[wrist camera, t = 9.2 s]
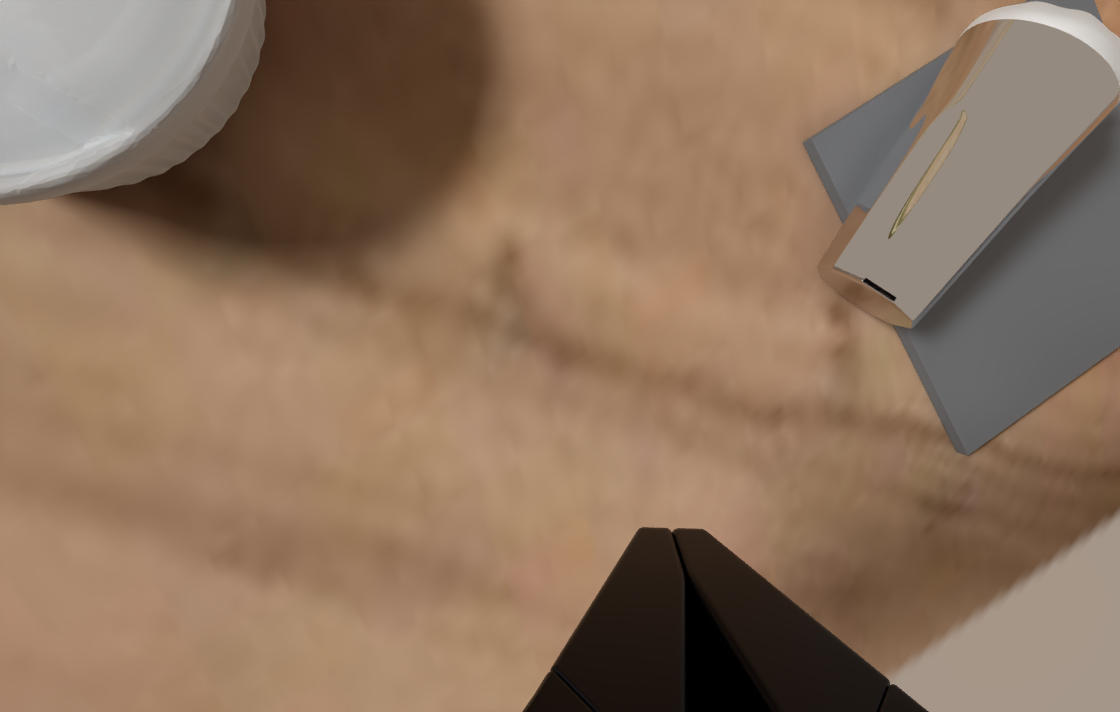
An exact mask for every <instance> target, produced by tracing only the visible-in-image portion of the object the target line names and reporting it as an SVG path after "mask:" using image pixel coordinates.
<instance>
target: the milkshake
mask: <svg viewBox="0 0 1120 712" xmlns="http://www.w3.org/2000/svg"><path fill="white" fill-rule="evenodd" d="M1119 102H1120V38H1119V37H1118V36H1117V35H1115V34H1114V33H1112V32H1111V31H1110V30H1109V29H1108V28H1107V27H1106V26H1105V25H1104V24H1103V23H1102V22H1100V21H1099V20H1098V19H1097V18H1096V17H1094V16H1093V15H1092V14H1090V13H1088V12H1085V11H1081V10H1075V9H1067V8H1062V7H1059V6H1056V5H1052V4H1049V3H1045V2H1039V1H1034V2H1026V3H1022V4H1017V5H1011V6H1005V7H1001V8H997V9H994V10H991V11H989V12H987V13H985V14H983V15H981V16H980V17H978V18H977V19H976V20H974V21H973V22H972V23H971V24H970V25H969V26H968V27H967V28H966V30H965V31H964V32H963V33H962V35H961V36H960V38H959V40H958V41H957V43H956V45H955V46H954V48H953V50H952V51H951V53H950V55H949V56H948V58H947V60H946V61H945V63H944V65H943V66H942V68H941V70H940V71H939V73H938V75H937V76H936V78H935V80H934V81H933V83H932V85H931V86H930V88H929V90H928V91H927V93H926V95H925V96H924V98H923V100H922V101H921V103H920V105H919V106H918V108H917V110H916V111H915V113H914V114H913V116H912V118H911V119H910V121H909V123H908V124H907V126H906V127H905V129H904V130H903V132H902V133H901V135H900V136H899V138H898V140H897V141H896V143H895V144H894V146H893V147H892V149H891V150H890V152H889V154H888V155H887V157H886V158H885V160H884V161H883V163H882V165H881V166H880V168H879V169H878V171H877V172H876V174H875V176H874V177H873V179H872V180H871V182H870V183H869V185H868V186H867V188H866V190H865V191H864V193H863V194H862V196H861V197H860V199H859V201H858V202H857V204H856V205H855V207H854V208H853V210H852V212H851V213H850V215H849V216H848V218H847V219H846V221H845V223H844V224H843V226H842V227H841V229H840V230H839V232H838V233H837V235H836V237H835V238H834V240H833V241H832V243H831V244H830V246H829V248H828V249H827V251H826V252H825V254H824V255H823V257H822V259H821V260H820V262H819V264H818V266H817V268H818V271H819V274H820V277H821V279H823V280H824V281H825V282H826V283H827V284H828V285H829V286H830V287H831V288H833V289H834V290H835V291H836V292H837V293H838V294H839V295H841V296H842V297H844V298H845V299H847V300H849V301H850V302H852V303H853V304H855V305H856V306H858V307H859V308H861V309H862V310H864V311H865V312H867V313H869V314H872V315H874V316H876V317H878V318H880V319H882V320H884V321H886V322H888V323H890V324H892V325H897V326H901V327H906V328H910V329H912V328H913V327H914V326H915V325H916V324H917V323H918V322H919V321H920V320H921V319H922V318H923V317H924V316H925V315H926V313H927V312H928V311H929V310H930V309H931V308H932V307H933V306H934V304H935V303H936V302H937V301H938V300H939V299H940V298H941V297H942V295H943V294H944V293H945V292H946V291H947V290H948V289H949V288H950V286H951V285H952V284H953V283H954V282H955V281H956V280H957V279H958V277H959V276H960V275H961V274H962V273H963V272H964V271H965V270H966V268H967V267H968V266H969V265H970V264H971V263H972V262H973V261H974V259H975V258H976V257H977V256H978V255H979V254H980V253H981V252H982V251H983V249H984V248H985V247H986V246H987V245H988V244H989V243H990V242H991V240H992V239H993V238H994V237H995V236H996V235H997V234H998V233H999V231H1000V230H1001V229H1002V228H1003V227H1004V226H1005V225H1006V224H1007V222H1008V221H1009V220H1010V219H1011V218H1012V217H1013V216H1014V215H1015V213H1016V212H1017V211H1018V210H1019V209H1020V208H1021V207H1022V206H1023V205H1024V203H1025V202H1026V201H1027V200H1028V199H1029V198H1030V197H1031V196H1032V195H1033V194H1034V193H1035V192H1036V190H1037V189H1038V188H1039V187H1040V186H1041V185H1042V184H1043V183H1044V182H1045V181H1046V180H1047V179H1048V178H1049V177H1050V176H1051V175H1052V174H1053V173H1054V172H1055V171H1056V169H1057V168H1058V167H1059V166H1060V165H1061V164H1062V163H1063V162H1064V161H1065V160H1066V159H1067V158H1068V157H1069V156H1070V155H1071V154H1072V153H1073V152H1074V151H1075V149H1076V148H1077V147H1078V146H1079V145H1080V144H1081V143H1082V142H1083V141H1084V140H1085V139H1086V138H1087V137H1088V136H1089V135H1090V134H1091V133H1092V131H1093V130H1094V129H1095V128H1096V127H1097V126H1098V125H1099V124H1100V123H1101V122H1102V121H1103V120H1104V119H1105V118H1106V117H1107V116H1108V114H1109V113H1110V112H1111V111H1112V110H1113V109H1114V108H1115V107H1116V106H1117V105H1118V104H1119Z"/></svg>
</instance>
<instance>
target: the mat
mask: <svg viewBox="0 0 1120 712" xmlns="http://www.w3.org/2000/svg"><path fill="white" fill-rule="evenodd" d="M1034 1H1039V2H1045V3H1049V4H1052V5H1056V6H1059V7H1062V8H1067V9H1075V10H1081V11H1085V12H1088V13H1090V14H1092V15H1093V16H1094V17H1096V18H1097V19H1098V20H1099V21H1100V22H1102V20H1101V17H1100V15H1099V12H1098V10H1097V7H1096V4H1095V2H1094V0H1027V1H1026V2H1034ZM1026 2H1024V3H1026ZM1102 23H1103V22H1102ZM953 48H954V47H953ZM953 48H951V49H950V50H948V51H947V52H945V53H944V54H942V55H940V56H939V57H937V58H936V59H934V60H932V61H931V62H929V63H928V64H926V65H925V66H923V67H921V68H920V69H918V70H917V71H915V72H913V73H912V74H910V75H909V76H907V77H906V78H904V79H902V80H901V81H899V82H898V83H896V84H894V85H893V86H891V87H890V88H888V89H887V90H885V91H883V92H882V93H880V94H879V95H877V96H875V97H874V98H872V99H871V100H869V101H868V102H866V103H864V104H863V105H861V106H860V107H858V108H856V109H855V110H853V111H852V112H850V113H849V114H847V115H845V116H844V117H842V118H841V119H839V120H837V121H836V122H834V123H833V124H831V125H830V126H828V127H826V128H825V129H823V130H822V131H820V132H819V133H817V134H815V135H814V136H812V137H811V138H809V139H807V140H806V141H804V142H803V144H804V146H805V148H806V150H807V152H808V155H809V157H810V159H811V161H812V163H813V165H814V167H815V169H816V171H817V173H818V175H819V177H820V179H821V181H822V183H823V185H824V187H825V189H826V191H827V193H828V195H829V197H830V199H831V201H832V203H833V205H834V207H835V209H836V211H837V213H838V215H839V217H840V219H841V221H842V223H843V224H844V223H845V221H846V219H847V218H848V216H849V215H850V213H851V212H852V210H853V208H854V207H855V205H856V204H857V202H858V201H859V199H860V197H861V196H862V194H863V193H864V191H865V190H866V188H867V186H868V185H869V183H870V182H871V180H872V179H873V177H874V176H875V174H876V172H877V171H878V169H879V168H880V166H881V165H882V163H883V161H884V160H885V158H886V157H887V155H888V154H889V152H890V150H891V149H892V147H893V146H894V144H895V143H896V141H897V140H898V138H899V136H900V135H901V133H902V132H903V130H904V129H905V127H906V126H907V124H908V123H909V121H910V119H911V118H912V116H913V114H914V113H915V111H916V110H917V108H918V106H919V105H920V103H921V101H922V100H923V98H924V96H925V95H926V93H927V91H928V90H929V88H930V86H931V85H932V83H933V81H934V80H935V78H936V76H937V75H938V73H939V71H940V70H941V68H942V66H943V65H944V63H945V61H946V60H947V58H948V56H949V55H950V53H951V51H952V50H953ZM894 327H895V329H896V331H897V333H898V335H899V337H900V339H901V341H902V343H903V345H904V347H905V349H906V351H907V353H908V355H909V357H910V359H911V361H912V363H913V365H914V367H915V369H916V371H917V373H918V375H919V377H920V379H921V381H922V383H923V385H924V387H925V389H926V391H927V393H928V395H929V397H930V399H931V401H932V403H933V405H934V407H935V409H936V411H937V413H938V415H939V417H940V419H941V421H942V423H943V425H944V428H945V430H946V432H947V434H948V436H949V438H950V440H951V442H952V444H953V446H954V448H955V450H956V452H958V453H962V454H965V455H969V454H971V453H972V452H974V451H975V450H976V449H978V448H979V447H980V446H982V445H983V444H985V443H986V442H987V441H989V440H990V439H992V438H993V437H994V436H996V435H997V434H999V433H1000V432H1001V431H1003V430H1004V429H1006V428H1007V427H1008V426H1010V425H1011V424H1013V423H1014V422H1015V421H1017V420H1018V419H1019V418H1021V417H1022V416H1024V415H1025V414H1026V413H1028V412H1029V411H1031V410H1032V409H1033V408H1035V407H1036V406H1038V405H1039V404H1040V403H1042V402H1043V401H1045V400H1046V399H1047V398H1049V397H1050V396H1052V395H1053V394H1054V393H1056V392H1057V391H1058V390H1060V389H1061V388H1063V387H1064V386H1065V385H1067V384H1068V383H1070V382H1071V381H1072V380H1074V379H1075V378H1077V377H1078V376H1079V375H1081V374H1082V373H1084V372H1085V371H1086V370H1088V369H1089V368H1091V367H1092V366H1093V365H1095V364H1096V363H1097V362H1099V361H1100V360H1102V359H1103V358H1104V357H1106V356H1107V355H1109V354H1110V353H1111V352H1113V351H1114V350H1116V349H1117V348H1118V347H1120V102H1119V104H1118V105H1117V106H1116V107H1115V108H1114V109H1113V110H1112V111H1111V112H1110V113H1109V114H1108V116H1107V117H1106V118H1105V119H1104V120H1103V121H1102V122H1101V123H1100V124H1099V125H1098V126H1097V127H1096V128H1095V129H1094V130H1093V131H1092V133H1091V134H1090V135H1089V136H1088V137H1087V138H1086V139H1085V140H1084V141H1083V142H1082V143H1081V144H1080V145H1079V146H1078V147H1077V148H1076V149H1075V151H1074V152H1073V153H1072V154H1071V155H1070V156H1069V157H1068V158H1067V159H1066V160H1065V161H1064V162H1063V163H1062V164H1061V165H1060V166H1059V167H1058V168H1057V169H1056V171H1055V172H1054V173H1053V174H1052V175H1051V176H1050V177H1049V178H1048V179H1047V180H1046V181H1045V182H1044V183H1043V184H1042V185H1041V186H1040V187H1039V188H1038V189H1037V190H1036V192H1035V193H1034V194H1033V195H1032V196H1031V197H1030V198H1029V199H1028V200H1027V201H1026V202H1025V203H1024V205H1023V206H1022V207H1021V208H1020V209H1019V210H1018V211H1017V212H1016V213H1015V215H1014V216H1013V217H1012V218H1011V219H1010V220H1009V221H1008V222H1007V224H1006V225H1005V226H1004V227H1003V228H1002V229H1001V230H1000V231H999V233H998V234H997V235H996V236H995V237H994V238H993V239H992V240H991V242H990V243H989V244H988V245H987V246H986V247H985V248H984V249H983V251H982V252H981V253H980V254H979V255H978V256H977V257H976V258H975V259H974V261H973V262H972V263H971V264H970V265H969V266H968V267H967V268H966V270H965V271H964V272H963V273H962V274H961V275H960V276H959V277H958V279H957V280H956V281H955V282H954V283H953V284H952V285H951V286H950V288H949V289H948V290H947V291H946V292H945V293H944V294H943V295H942V297H941V298H940V299H939V300H938V301H937V302H936V303H935V304H934V306H933V307H932V308H931V309H930V310H929V311H928V312H927V313H926V315H925V316H924V317H923V318H922V319H921V320H920V321H919V322H918V323H917V324H916V325H915V326H914V327H913V328H912V329H910V328H906V327H901V326H897V325H894Z"/></svg>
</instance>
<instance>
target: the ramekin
mask: <svg viewBox="0 0 1120 712" xmlns="http://www.w3.org/2000/svg"><path fill="white" fill-rule="evenodd" d="M265 17H266V3H265V0H0V205H8V204H18V203H27V202H34V201H39V200H45V199H50V198H55V197H59V196H63V195H67V194H70V193H75V192H83V191H96V190H104V189H110V188H113V187H117V186H121V185H132V184H136V183H139V182H141V181H143V180H144V179H146V178H148V177H151V176H157V175H160V174H163V173H165V172H166V171H167V170H169V169H170V168H171V167H173V166H174V165H177V164H180V163H182V162H184V161H185V160H186V159H187V158H188V157H190V156H191V155H192V154H193V153H194V152H196V151H197V150H199V149H201V148H202V147H204V146H205V145H206V144H207V142H208V141H209V140H210V139H211V138H212V137H213V136H214V135H215V134H217V133H218V132H220V130H221V129H222V128H223V127H224V125H225V123H226V122H227V120H228V119H229V118H230V117H231V116H232V114H233V113H234V112H235V111H236V110H237V108H238V106H239V103H240V101H241V99H242V97H243V95H244V94H245V93H246V91H247V90H248V89H249V86H250V83H251V80H252V76H253V74H254V72H255V70H256V68H257V67H258V64H259V59H260V50H261V48H262V46H263V43H264V40H265V29H264V21H265Z"/></svg>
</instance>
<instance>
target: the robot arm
mask: <svg viewBox="0 0 1120 712" xmlns="http://www.w3.org/2000/svg"><path fill="white" fill-rule="evenodd" d="M523 712H928V711H927V710H926V709H924V708H923V707H922V706H921V705H919V704H918V703H917V702H916V701H914V700H913V699H912V698H911V697H910V696H908V695H907V694H906V693H905V692H903V691H902V690H901V689H900V688H899V687H897V686H896V685H894V684H892V685H890V682H889V680H888V679H887V678H886V677H885V676H884V675H882V674H881V673H880V672H879V671H877V670H876V669H875V668H874V667H872V666H871V665H870V664H869V663H868V662H866V661H865V660H864V659H863V658H861V657H860V656H859V655H858V654H857V653H855V652H854V651H853V650H852V649H850V648H849V647H848V646H847V645H846V644H844V643H843V642H842V641H841V640H839V639H838V638H837V637H836V636H834V635H833V634H832V633H831V632H830V631H828V630H827V629H826V628H825V627H823V626H822V625H821V624H820V623H819V622H817V621H816V620H815V619H814V618H812V617H811V616H810V615H809V614H808V613H806V612H805V611H804V610H803V609H801V608H800V607H799V606H798V605H796V604H795V603H794V602H793V601H792V600H790V599H789V598H788V597H787V596H785V595H784V594H783V593H782V592H781V591H779V590H778V589H777V588H776V587H774V586H773V585H772V584H771V583H770V582H768V581H767V580H766V579H765V578H763V577H762V576H761V575H760V574H758V573H757V572H756V571H755V570H754V569H752V568H751V567H750V566H749V565H747V564H746V563H745V562H744V561H743V560H741V559H740V558H739V557H738V556H736V555H735V554H734V553H733V552H731V551H730V550H729V549H728V548H727V547H725V546H724V545H723V544H722V543H720V542H719V541H718V540H717V539H716V538H714V537H713V536H712V535H711V534H709V533H708V532H707V531H705V530H703V529H685V528H678V529H675V530H673V532H671V531H670V530H669V529H668V528H648V527H642V528H640V529H639V530H638V531H637V532H636V534H635V535H634V537H633V539H632V540H631V542H630V543H629V545H628V546H627V548H626V550H625V551H624V553H623V554H622V556H621V558H620V559H619V561H618V562H617V564H616V566H615V567H614V569H613V570H612V572H611V574H610V575H609V577H608V578H607V580H606V582H605V583H604V585H603V586H602V588H601V590H600V591H599V593H598V594H597V596H596V597H595V599H594V601H593V602H592V604H591V605H590V607H589V609H588V610H587V612H586V613H585V615H584V617H583V618H582V620H581V621H580V623H579V625H578V626H577V628H576V629H575V631H574V633H573V634H572V636H571V637H570V639H569V641H568V642H567V644H566V645H565V647H564V648H563V650H562V652H561V653H560V655H559V656H558V658H557V660H556V661H555V663H554V664H553V666H552V668H551V670H550V672H549V673H548V674H547V675H546V677H545V678H544V680H543V681H542V683H541V685H540V686H539V688H538V689H537V691H536V693H535V694H534V696H533V697H532V699H531V700H530V701H529V703H528V704H527V706H526V707H525V709H524V710H523Z"/></svg>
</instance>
